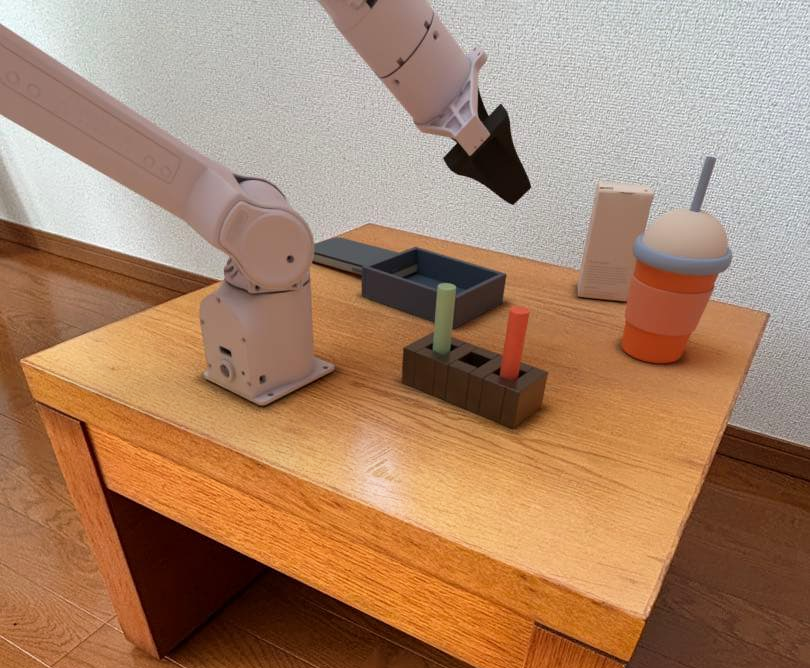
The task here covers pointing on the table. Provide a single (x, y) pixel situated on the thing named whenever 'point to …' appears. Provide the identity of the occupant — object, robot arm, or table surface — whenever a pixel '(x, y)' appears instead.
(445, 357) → the straw rack
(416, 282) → the bin
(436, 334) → the green rod
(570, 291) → the table surface
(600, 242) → the cosmetic box
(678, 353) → the cup with straw
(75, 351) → the table surface
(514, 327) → the red rod
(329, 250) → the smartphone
